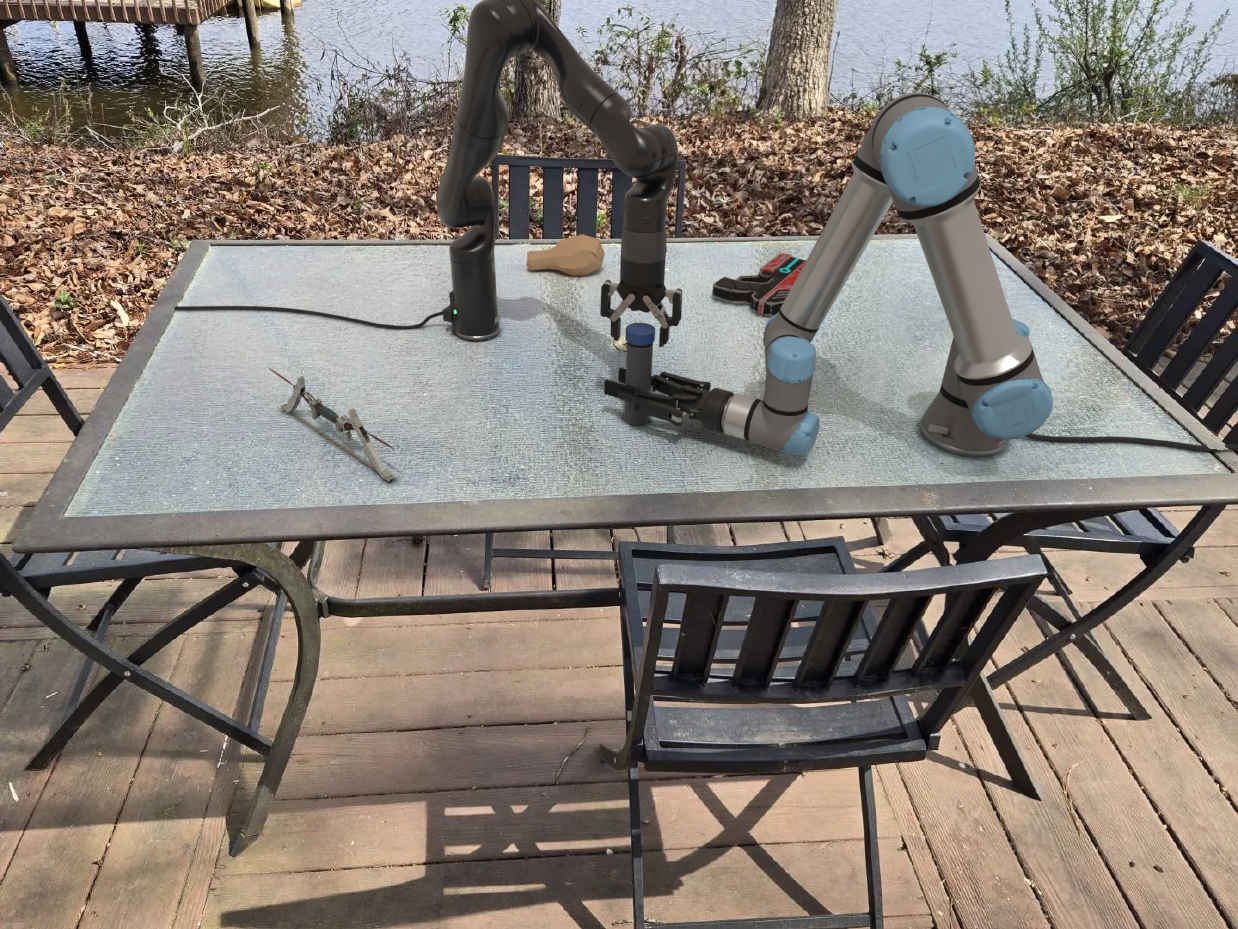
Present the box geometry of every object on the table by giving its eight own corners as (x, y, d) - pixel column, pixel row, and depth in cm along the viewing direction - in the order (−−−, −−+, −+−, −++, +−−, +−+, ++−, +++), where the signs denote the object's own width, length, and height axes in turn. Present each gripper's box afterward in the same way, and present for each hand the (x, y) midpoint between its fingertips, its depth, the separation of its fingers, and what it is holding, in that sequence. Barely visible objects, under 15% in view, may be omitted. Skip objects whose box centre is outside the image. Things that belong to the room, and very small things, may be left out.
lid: (653, 332, 157) (653, 322, 156) (656, 345, 153) (656, 334, 151) (624, 332, 157) (624, 322, 155) (626, 345, 152) (626, 335, 151)
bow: (404, 484, 144) (397, 432, 138) (395, 489, 143) (388, 437, 137) (282, 401, 165) (271, 354, 160) (273, 405, 164) (262, 357, 158)
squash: (606, 279, 220) (601, 247, 214) (527, 286, 222) (521, 255, 215) (606, 257, 228) (602, 226, 222) (531, 264, 229) (524, 233, 223)
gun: (708, 284, 207) (784, 305, 199) (760, 245, 229) (831, 262, 221) (706, 302, 209) (781, 323, 201) (758, 261, 231) (828, 278, 223)
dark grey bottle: (640, 410, 166) (643, 325, 157) (654, 420, 163) (658, 335, 153) (619, 416, 164) (622, 331, 154) (633, 427, 161) (636, 341, 151)
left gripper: (595, 255, 144) (594, 346, 153) (681, 265, 141) (675, 356, 150) (607, 240, 150) (605, 328, 159) (689, 250, 147) (683, 338, 157)
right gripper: (706, 455, 149) (588, 419, 158) (745, 410, 162) (633, 379, 171) (710, 417, 144) (588, 382, 153) (750, 373, 157) (635, 344, 166)
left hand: (639, 342), depth 155 cm, fingers open, 7 cm apart
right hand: (612, 380), depth 162 cm, fingers closed on dark grey bottle, 5 cm apart
